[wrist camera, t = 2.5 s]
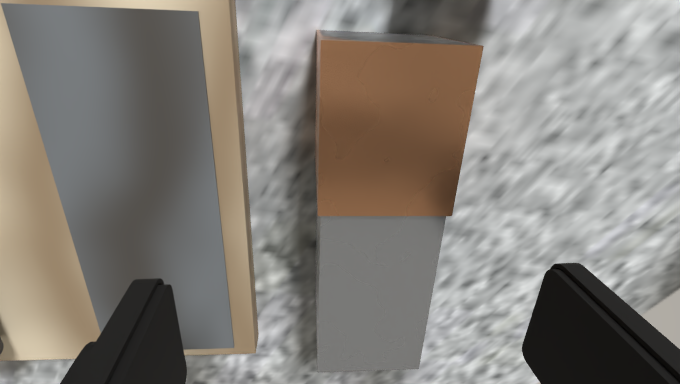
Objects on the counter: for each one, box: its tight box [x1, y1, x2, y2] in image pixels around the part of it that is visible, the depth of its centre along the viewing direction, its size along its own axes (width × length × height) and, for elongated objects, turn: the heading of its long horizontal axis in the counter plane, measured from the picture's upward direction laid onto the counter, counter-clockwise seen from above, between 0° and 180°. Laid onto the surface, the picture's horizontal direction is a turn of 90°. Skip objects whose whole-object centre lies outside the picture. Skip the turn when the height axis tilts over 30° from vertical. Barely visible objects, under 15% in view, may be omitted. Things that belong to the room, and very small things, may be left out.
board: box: [0, 0, 258, 361], centre depth 16 cm, size 14×16×1 cm
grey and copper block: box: [315, 30, 483, 372], centre depth 15 cm, size 4×12×5 cm, turn 178°
